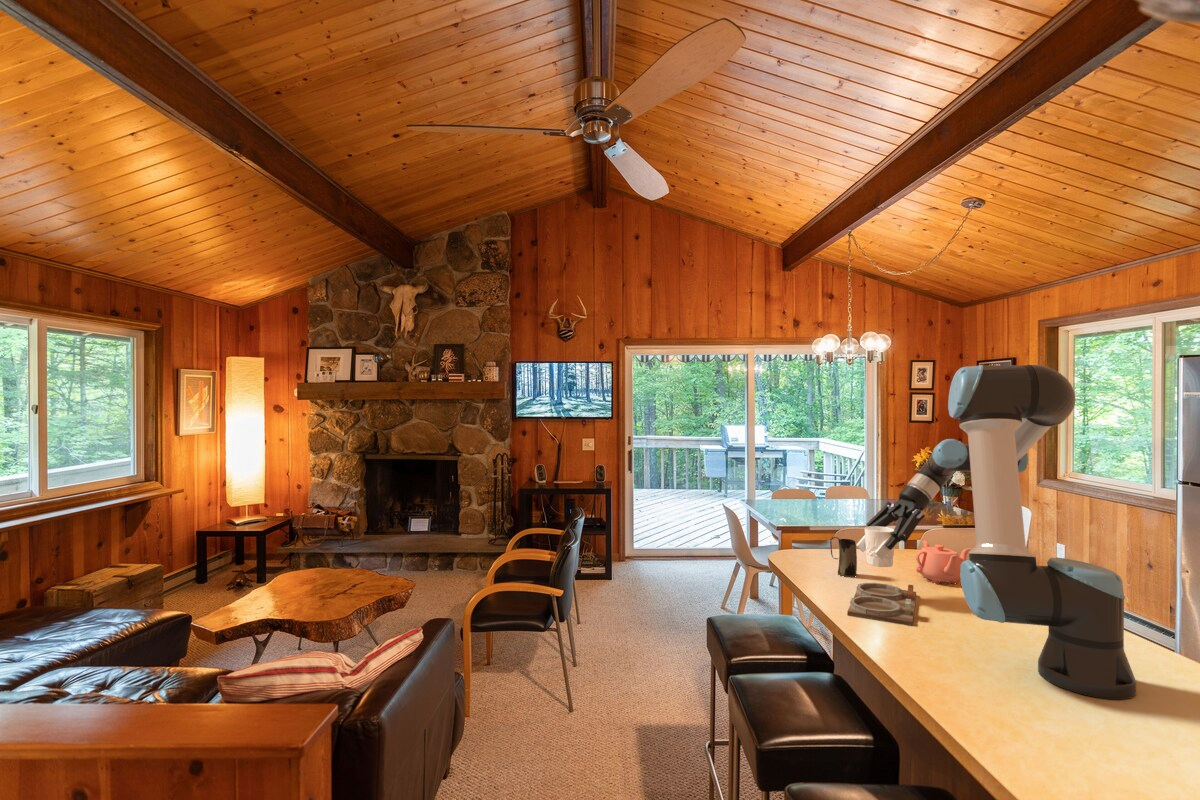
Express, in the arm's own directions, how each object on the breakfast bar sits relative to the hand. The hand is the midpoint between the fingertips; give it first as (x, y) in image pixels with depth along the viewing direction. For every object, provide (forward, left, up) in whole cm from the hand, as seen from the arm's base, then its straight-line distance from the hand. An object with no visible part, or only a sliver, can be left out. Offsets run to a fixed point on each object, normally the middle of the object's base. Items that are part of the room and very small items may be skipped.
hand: (868, 552), depth 171 cm
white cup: (+2, -3, -4) cm, 5 cm away
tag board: (-5, -4, -13) cm, 14 cm away
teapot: (+29, -19, -13) cm, 37 cm away
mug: (+20, +9, -13) cm, 26 cm away
